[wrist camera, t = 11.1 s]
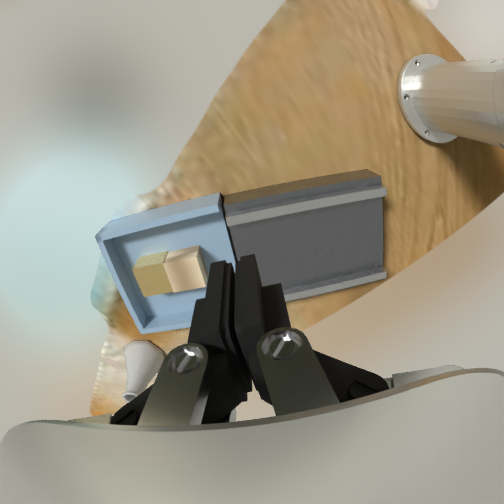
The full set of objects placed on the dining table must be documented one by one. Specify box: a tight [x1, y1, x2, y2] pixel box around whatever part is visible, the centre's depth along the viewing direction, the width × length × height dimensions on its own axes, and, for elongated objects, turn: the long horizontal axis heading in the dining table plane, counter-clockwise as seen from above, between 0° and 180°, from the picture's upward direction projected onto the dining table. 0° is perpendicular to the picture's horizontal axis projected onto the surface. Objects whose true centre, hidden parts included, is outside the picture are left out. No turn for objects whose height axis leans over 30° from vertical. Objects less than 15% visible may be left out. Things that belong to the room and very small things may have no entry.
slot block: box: [224, 169, 387, 302], centre depth 35 cm, size 18×14×5 cm
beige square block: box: [163, 245, 208, 293], centre depth 34 cm, size 4×4×3 cm
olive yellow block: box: [132, 251, 174, 297], centre depth 34 cm, size 4×4×3 cm
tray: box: [95, 193, 237, 334], centre depth 36 cm, size 15×15×5 cm
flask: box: [122, 341, 165, 403], centre depth 41 cm, size 7×7×10 cm
